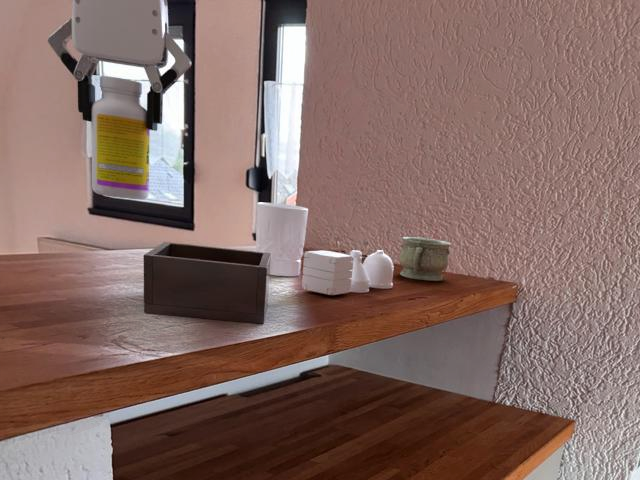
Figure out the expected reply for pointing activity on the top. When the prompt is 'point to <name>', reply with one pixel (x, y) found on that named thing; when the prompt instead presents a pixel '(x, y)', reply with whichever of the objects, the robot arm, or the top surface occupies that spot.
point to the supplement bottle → (120, 140)
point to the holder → (207, 282)
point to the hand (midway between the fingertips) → (120, 124)
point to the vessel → (424, 258)
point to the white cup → (281, 236)
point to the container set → (346, 272)
